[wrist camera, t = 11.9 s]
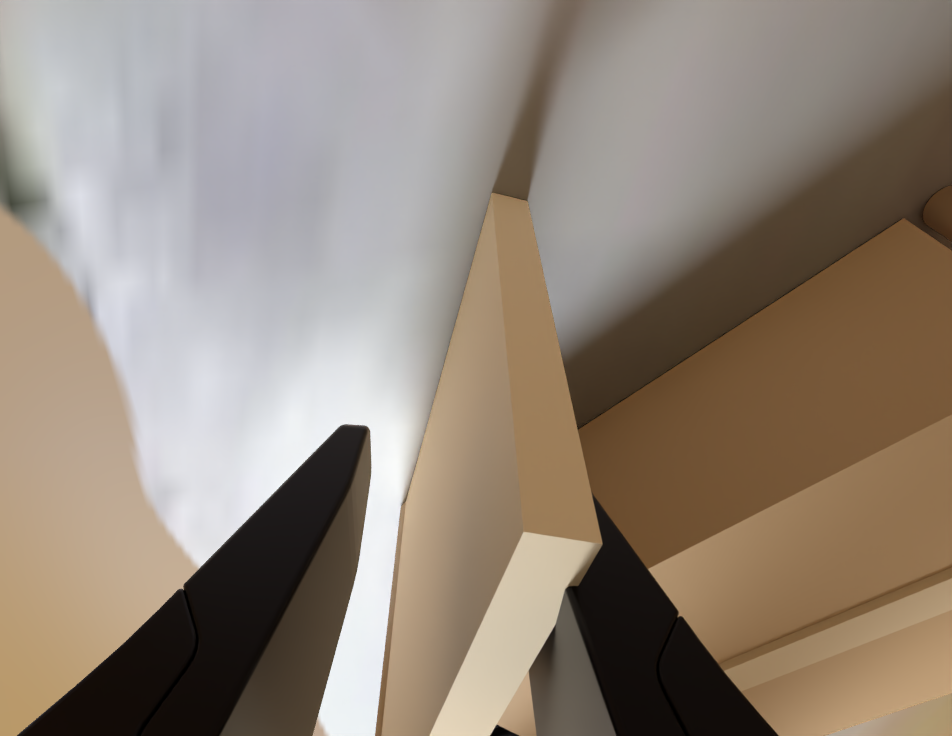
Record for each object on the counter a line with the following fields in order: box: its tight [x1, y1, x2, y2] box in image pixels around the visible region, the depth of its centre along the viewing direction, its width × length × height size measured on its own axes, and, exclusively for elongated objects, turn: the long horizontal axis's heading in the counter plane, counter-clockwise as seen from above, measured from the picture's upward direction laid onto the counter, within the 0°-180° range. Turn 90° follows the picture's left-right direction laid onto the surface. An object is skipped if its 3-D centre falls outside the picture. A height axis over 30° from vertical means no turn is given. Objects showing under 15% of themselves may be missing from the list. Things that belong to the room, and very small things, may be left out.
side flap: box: [375, 193, 603, 736], centre depth 13 cm, size 11×1×9 cm, turn 166°
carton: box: [497, 218, 952, 736], centre depth 17 cm, size 15×10×5 cm, turn 133°
